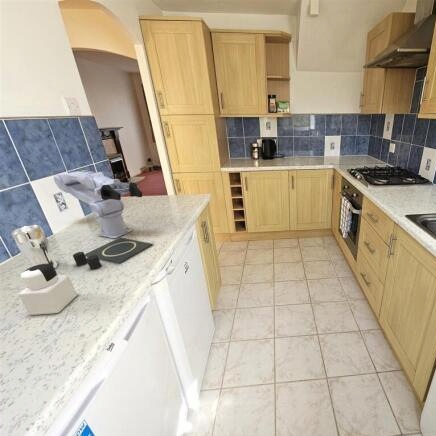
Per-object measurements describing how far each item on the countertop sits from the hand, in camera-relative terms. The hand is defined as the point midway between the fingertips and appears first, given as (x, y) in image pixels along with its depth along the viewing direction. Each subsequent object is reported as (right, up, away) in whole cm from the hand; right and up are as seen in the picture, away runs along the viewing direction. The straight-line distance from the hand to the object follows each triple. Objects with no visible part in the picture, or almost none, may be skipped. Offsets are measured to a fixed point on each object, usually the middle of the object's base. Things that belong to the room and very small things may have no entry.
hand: (130, 195), depth 89 cm
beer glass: (-25, -26, -6) cm, 36 cm away
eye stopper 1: (-14, -24, -4) cm, 28 cm away
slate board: (-7, -21, +4) cm, 22 cm away
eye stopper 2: (-8, -25, -7) cm, 27 cm away
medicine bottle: (-5, -32, -23) cm, 40 cm away
